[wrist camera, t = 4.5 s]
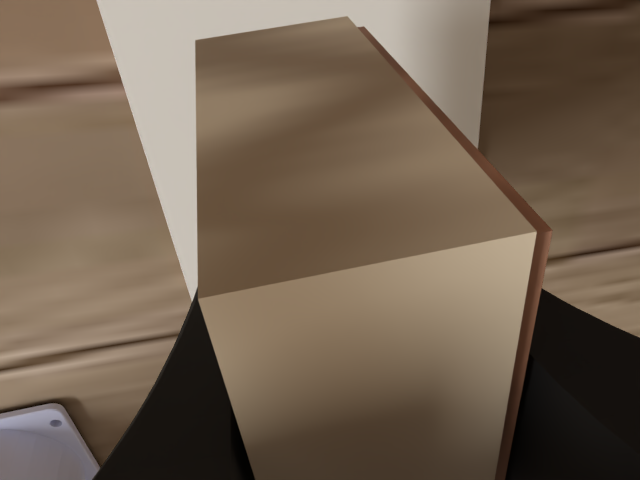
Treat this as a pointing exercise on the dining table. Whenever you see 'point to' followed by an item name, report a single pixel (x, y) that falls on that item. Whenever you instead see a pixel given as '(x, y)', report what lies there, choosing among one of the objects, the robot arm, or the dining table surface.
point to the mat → (262, 13)
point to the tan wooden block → (357, 263)
